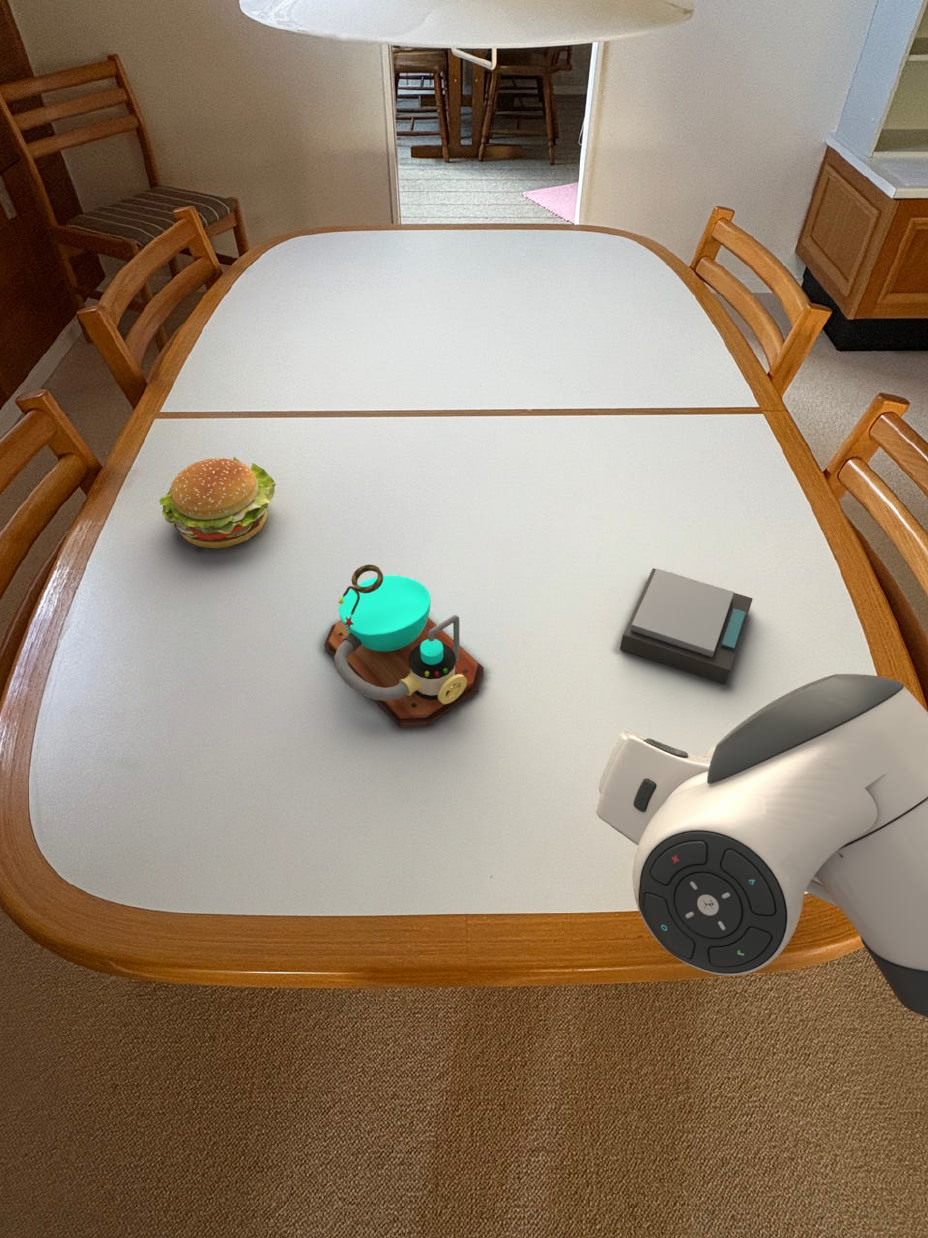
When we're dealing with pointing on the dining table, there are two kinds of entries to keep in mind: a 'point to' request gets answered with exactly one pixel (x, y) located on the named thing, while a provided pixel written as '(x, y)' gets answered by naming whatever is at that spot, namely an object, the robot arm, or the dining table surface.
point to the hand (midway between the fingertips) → (740, 797)
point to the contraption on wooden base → (400, 650)
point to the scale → (687, 625)
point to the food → (218, 502)
